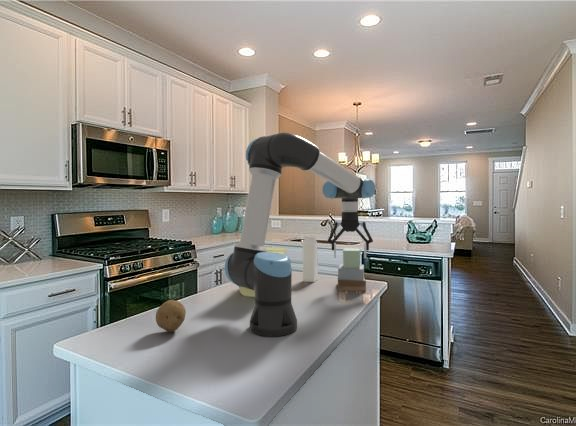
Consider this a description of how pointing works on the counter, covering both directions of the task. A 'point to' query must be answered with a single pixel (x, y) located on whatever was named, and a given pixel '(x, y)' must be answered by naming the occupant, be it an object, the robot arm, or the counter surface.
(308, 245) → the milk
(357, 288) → the tower base
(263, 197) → the robot arm
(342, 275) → the tower top
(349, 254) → the sage block
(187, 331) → the counter surface
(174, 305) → the potato
